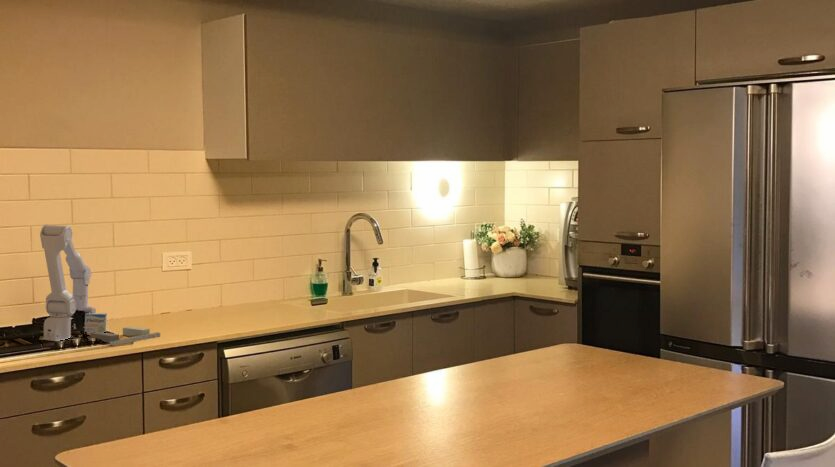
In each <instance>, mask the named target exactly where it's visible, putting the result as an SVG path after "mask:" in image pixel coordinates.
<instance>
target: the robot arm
mask: <svg viewBox="0 0 835 467" xmlns="http://www.w3.org/2000/svg"><path fill="white" fill-rule="evenodd" d="M39 237H40V242H41V248H42V249H43V251H44V255H45V256H44V257H45V264H46V267H47V273H48V278H49V280H48V281H49V285H50V289H51V292H50V293H49V294H48V295H47V296H46V297H45V312H46V313H47V314H48V316H49V317H47V318H46V319H45V320H44V322H43V337H42V338H41V340H42V341H43V340H45V341H51V342H61V341H60V340H63V341H66V340H65V339H68V338H70V337H71V336H72V335H71V334H72V333H71V331H72V326H71V325H72V324H71V323H72V320H73V322H74V325H75V330H77V331H82V330H84V327H85V314H86V313H96V312H97V311H96V310H97V308H96V307H92V306H89V304H88V302H89V284H90V283H91V282H90V280H91V277H92V270H91V267H89V266H87V265H86V263H85V261H84V259H83V257H82V255H81V253H80V252H78V251H76V249H75V246H74V243H73V240H72V238H73V230H72V228H71V226H70V225H67V224H66V225H60V224H59V225H56V224H47V223H46V224H44V225H43V226H42V227H41V230H40V233H39ZM62 251H63V252H64V253H65V255H66V256H65V261H66V264H67V266H68V267H69V268H68V270H69V277H70V279H71V280H72V293H71V292H70V291H69V290H67V286H66V281H65V275H64V270H63V263H62V257H61V252H62ZM68 340H69V339H68Z"/></svg>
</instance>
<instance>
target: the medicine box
mask: <svg viewBox="0 0 835 467" xmlns="http://www.w3.org/2000/svg"><path fill="white" fill-rule="evenodd" d="M107 314H108V313H107V312H103V313H102V312H97V313H86V314H85V323H84V333H85V332H106V333H107Z"/></svg>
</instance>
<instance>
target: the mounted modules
mask: <svg viewBox="0 0 835 467" xmlns="http://www.w3.org/2000/svg"><path fill="white" fill-rule="evenodd" d="M150 329H151V328H147V327H138V326H132V325H131V326H125V327H122V336H127V337H135V336H140V335H145V334H151V332H150V331H151V330H150ZM91 337H92V338H98V339H101V340H102V341H104V342H107V343H106V344H109V345H110V341H114V340H119V339H120V334H118V333H117V334H116V333H111V332H106V333H104V332H95V333H91V336H90V338H91Z"/></svg>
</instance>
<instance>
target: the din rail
mask: <svg viewBox="0 0 835 467" xmlns="http://www.w3.org/2000/svg"><path fill="white" fill-rule="evenodd" d="M159 337H161V332H153V333H152V332H150V334H145V335H140V336H135V337H133V336H129V337H126V338H119V340H114V341H110V344H109V346H112V347H114V346H119V345H124V344H128V343H134V342H138V341H145V340H149V339H153V338H159Z"/></svg>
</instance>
